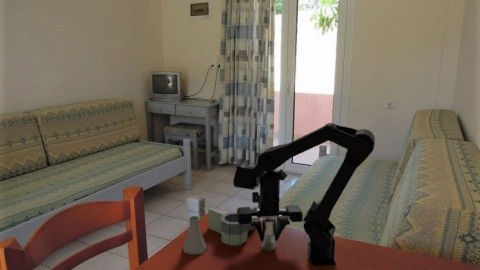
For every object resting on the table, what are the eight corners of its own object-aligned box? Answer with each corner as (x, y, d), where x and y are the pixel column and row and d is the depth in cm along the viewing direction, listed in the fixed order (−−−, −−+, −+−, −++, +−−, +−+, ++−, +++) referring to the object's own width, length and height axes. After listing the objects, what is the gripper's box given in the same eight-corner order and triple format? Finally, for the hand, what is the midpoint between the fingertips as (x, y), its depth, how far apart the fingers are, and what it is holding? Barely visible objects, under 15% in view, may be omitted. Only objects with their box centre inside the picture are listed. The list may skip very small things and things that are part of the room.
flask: (205, 255, 102) (204, 224, 99) (180, 255, 102) (179, 223, 99) (208, 242, 109) (207, 212, 106) (184, 242, 109) (183, 212, 106)
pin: (274, 243, 108) (274, 215, 106) (276, 250, 104) (277, 222, 102) (261, 243, 107) (261, 216, 105) (263, 250, 104) (263, 222, 102)
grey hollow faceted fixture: (235, 248, 105) (235, 226, 104) (216, 239, 110) (215, 218, 109) (265, 229, 116) (265, 210, 115) (246, 222, 121) (246, 203, 120)
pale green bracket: (252, 237, 111) (252, 217, 110) (235, 248, 105) (235, 226, 104) (218, 223, 121) (218, 204, 119) (201, 232, 115) (200, 212, 113)
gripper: (295, 180, 110) (293, 226, 114) (235, 182, 109) (235, 228, 112) (304, 194, 99) (302, 244, 103) (238, 197, 98) (238, 247, 102)
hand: (268, 240), depth 105 cm, fingers closed on pin, 4 cm apart
